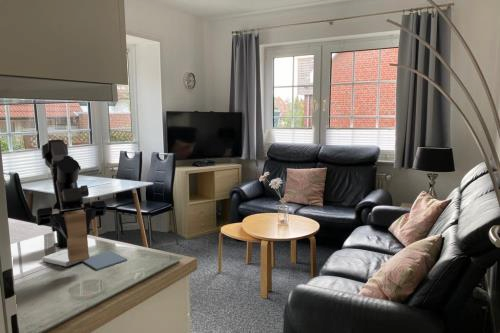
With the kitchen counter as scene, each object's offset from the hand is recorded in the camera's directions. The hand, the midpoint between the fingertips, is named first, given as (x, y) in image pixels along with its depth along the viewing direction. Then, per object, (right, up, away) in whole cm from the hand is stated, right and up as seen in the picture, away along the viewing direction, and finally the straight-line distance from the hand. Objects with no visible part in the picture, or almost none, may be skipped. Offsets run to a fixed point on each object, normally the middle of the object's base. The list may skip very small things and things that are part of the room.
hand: (77, 236), depth 105 cm
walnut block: (-1, -7, +2) cm, 7 cm away
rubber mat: (+3, -10, +11) cm, 15 cm away
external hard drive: (-9, -10, +12) cm, 18 cm away
